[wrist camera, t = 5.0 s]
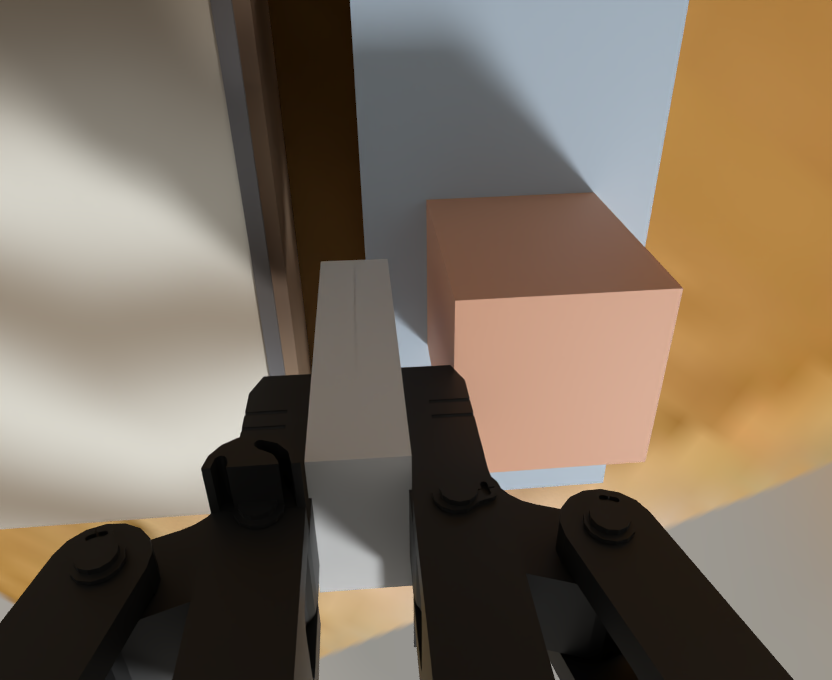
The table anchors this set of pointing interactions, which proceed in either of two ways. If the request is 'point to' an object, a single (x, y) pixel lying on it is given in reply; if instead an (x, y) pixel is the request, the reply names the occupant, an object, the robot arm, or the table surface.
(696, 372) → the table surface
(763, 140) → the table surface
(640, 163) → the blue base with cube
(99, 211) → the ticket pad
